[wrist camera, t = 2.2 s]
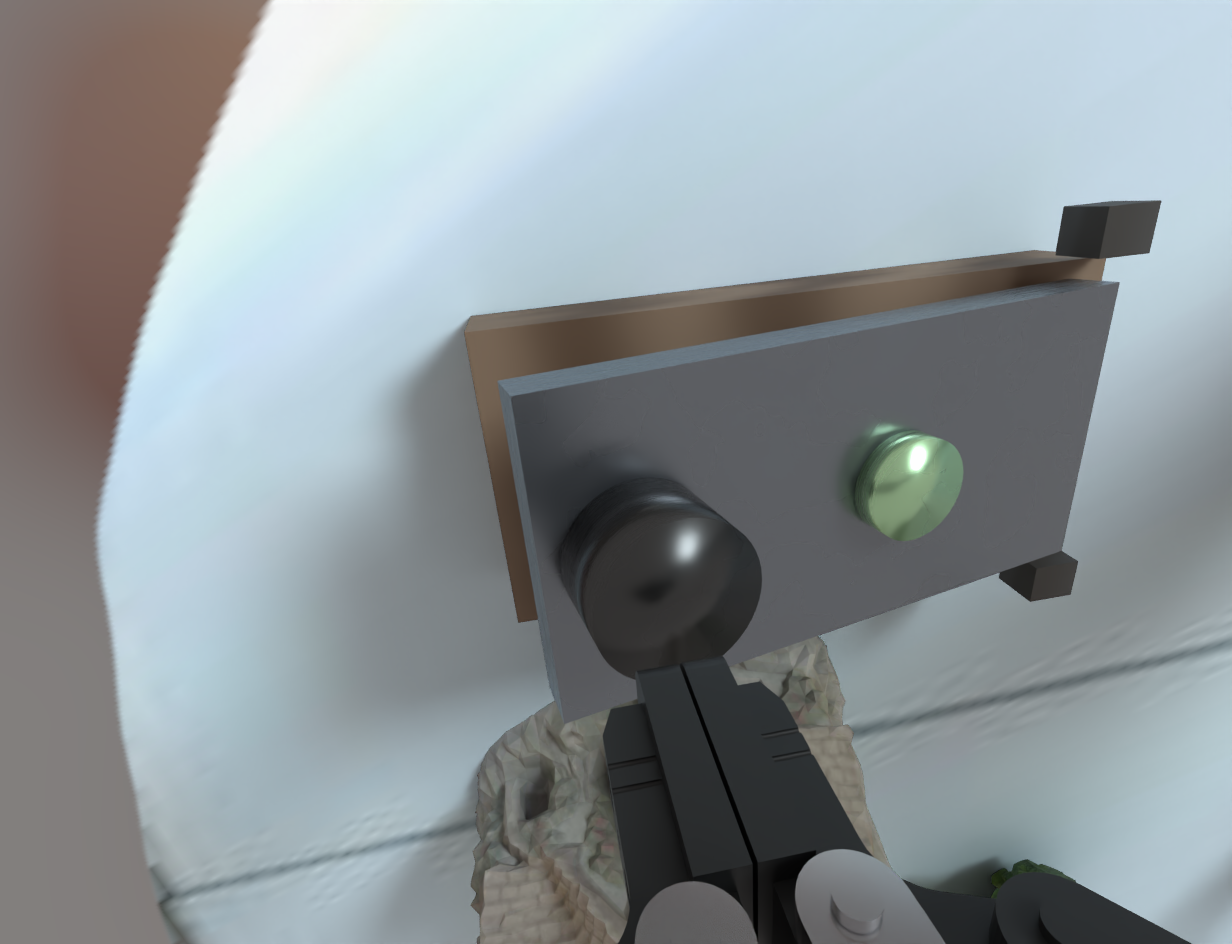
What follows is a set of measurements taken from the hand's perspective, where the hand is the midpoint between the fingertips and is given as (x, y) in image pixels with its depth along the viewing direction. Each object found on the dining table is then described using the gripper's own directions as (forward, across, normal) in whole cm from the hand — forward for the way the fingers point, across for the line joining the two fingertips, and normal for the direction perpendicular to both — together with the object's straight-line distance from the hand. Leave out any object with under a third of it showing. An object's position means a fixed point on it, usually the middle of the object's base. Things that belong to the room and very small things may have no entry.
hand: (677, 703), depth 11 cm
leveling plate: (+8, -6, 0) cm, 10 cm away
